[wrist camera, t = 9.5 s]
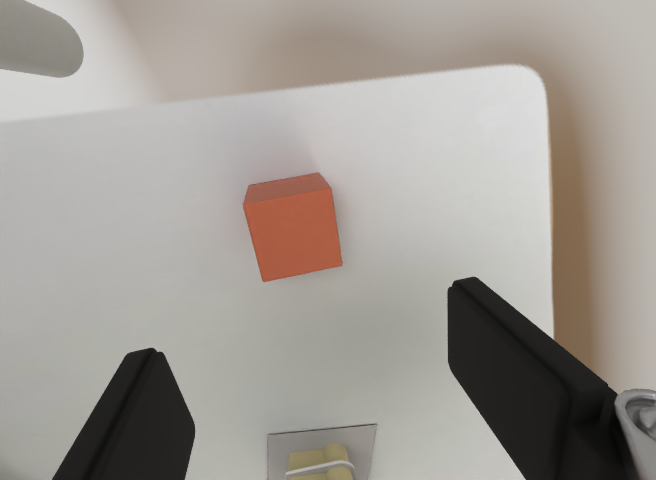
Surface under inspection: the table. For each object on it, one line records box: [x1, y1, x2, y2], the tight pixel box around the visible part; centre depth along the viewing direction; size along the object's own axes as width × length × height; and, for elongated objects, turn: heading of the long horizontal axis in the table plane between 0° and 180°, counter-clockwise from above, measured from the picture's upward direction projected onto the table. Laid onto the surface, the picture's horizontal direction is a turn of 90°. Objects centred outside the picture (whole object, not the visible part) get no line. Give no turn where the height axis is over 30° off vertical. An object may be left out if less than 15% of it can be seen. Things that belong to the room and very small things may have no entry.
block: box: [243, 173, 342, 282], centre depth 20 cm, size 5×5×5 cm
